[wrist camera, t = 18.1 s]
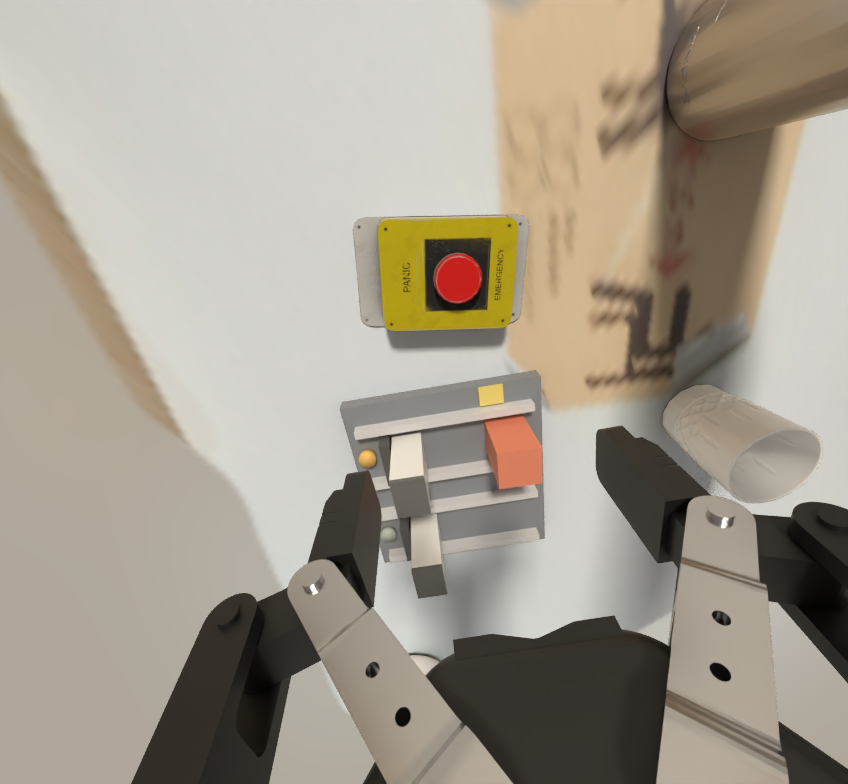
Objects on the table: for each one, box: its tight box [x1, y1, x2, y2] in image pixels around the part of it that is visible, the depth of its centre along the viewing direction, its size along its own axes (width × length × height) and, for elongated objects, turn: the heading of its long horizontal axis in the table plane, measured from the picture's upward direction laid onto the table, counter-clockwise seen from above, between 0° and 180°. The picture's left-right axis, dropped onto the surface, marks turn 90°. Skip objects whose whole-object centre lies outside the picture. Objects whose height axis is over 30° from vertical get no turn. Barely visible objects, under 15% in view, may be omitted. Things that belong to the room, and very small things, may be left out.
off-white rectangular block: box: [389, 432, 431, 519], centre depth 36 cm, size 3×4×7 cm
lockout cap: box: [484, 415, 542, 489], centre depth 36 cm, size 4×4×6 cm
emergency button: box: [353, 214, 529, 331], centre depth 32 cm, size 9×4×15 cm
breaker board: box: [340, 370, 545, 563], centre depth 41 cm, size 20×22×4 cm
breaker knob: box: [411, 513, 447, 598], centre depth 40 cm, size 3×4×7 cm
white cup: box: [663, 385, 823, 503], centre depth 36 cm, size 8×8×10 cm
